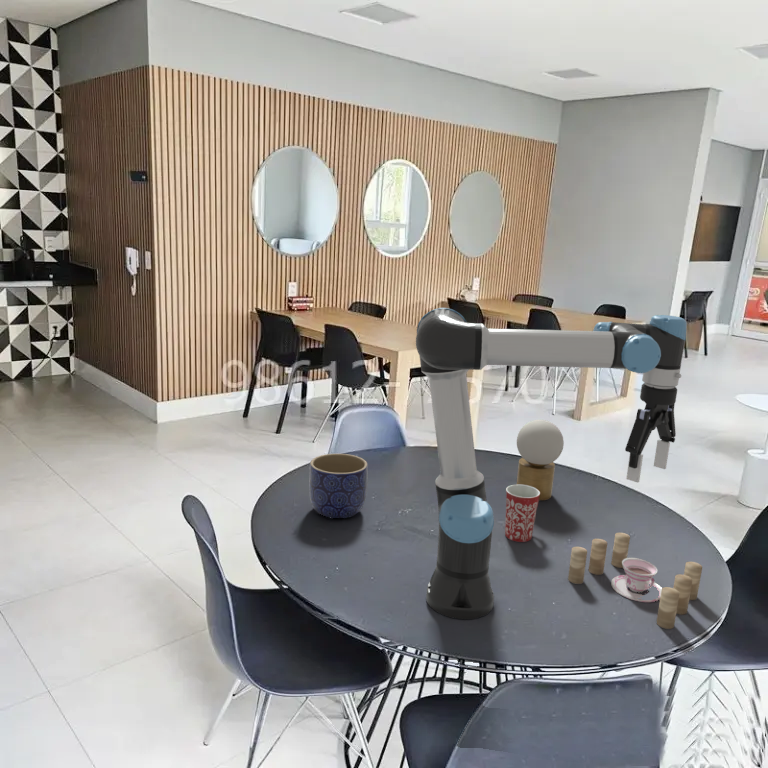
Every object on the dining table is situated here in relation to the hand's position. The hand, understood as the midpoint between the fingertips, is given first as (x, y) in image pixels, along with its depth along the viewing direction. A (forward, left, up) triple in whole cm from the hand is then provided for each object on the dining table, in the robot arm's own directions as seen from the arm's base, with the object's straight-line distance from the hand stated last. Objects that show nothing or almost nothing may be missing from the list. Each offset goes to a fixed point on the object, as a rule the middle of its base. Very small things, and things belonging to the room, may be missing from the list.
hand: (646, 473), depth 160 cm
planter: (-33, +74, -29) cm, 86 cm away
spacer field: (-1, -2, -29) cm, 29 cm away
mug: (0, +33, -29) cm, 44 cm away
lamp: (+25, +48, -29) cm, 61 cm away
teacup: (0, -2, -29) cm, 29 cm away
